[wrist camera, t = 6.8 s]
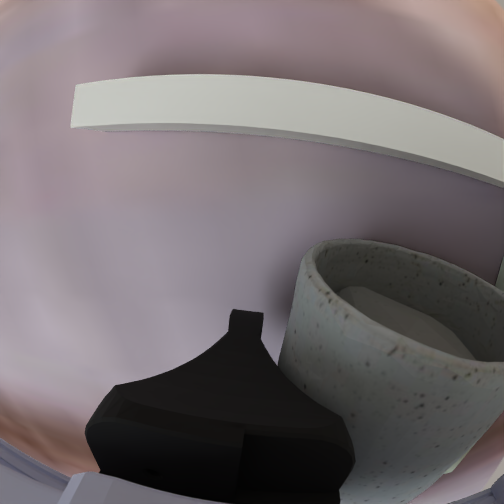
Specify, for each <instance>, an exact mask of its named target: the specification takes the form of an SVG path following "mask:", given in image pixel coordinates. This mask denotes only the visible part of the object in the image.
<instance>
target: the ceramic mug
mask: <svg viewBox="0 0 504 504" xmlns="http://www.w3.org/2000/svg"><path fill="white" fill-rule="evenodd" d="M278 367H279V369H280V370H281V371H282V372H283V373H284V375H285V376H286V377H287V378H288V379H289V380H290V381H291V382H292V383H293V384H294V385H296V386H297V387H298V388H299V389H300V390H301V391H302V392H304V393H305V394H306V395H308V396H309V397H310V398H312V399H313V400H314V401H316V402H317V403H319V404H320V405H322V406H324V407H326V408H327V409H329V410H331V411H332V412H334V413H336V414H338V415H339V416H341V417H342V418H343V420H344V423H345V425H346V427H347V430H348V432H349V435H350V437H351V440H352V443H353V447H354V452H355V460H356V462H355V465H354V467H353V470H352V471H351V473H350V474H349V476H348V477H347V479H346V480H345V482H344V483H343V485H342V486H341V488H340V489H339V492H340V500H341V501H340V504H406V503H408V502H409V501H411V500H413V499H414V498H415V497H417V496H418V495H419V494H421V493H422V492H423V491H425V490H426V489H427V488H429V487H430V486H431V485H432V484H434V483H435V482H436V481H437V480H438V479H439V478H440V477H441V476H442V475H443V474H444V473H445V472H446V471H447V470H448V469H449V468H450V467H451V466H452V465H453V464H455V463H456V462H457V461H458V460H459V459H460V458H461V457H462V456H463V455H464V454H465V453H466V452H467V451H468V450H469V449H470V448H471V447H472V446H473V445H474V444H475V443H476V442H477V441H478V440H479V439H480V438H481V436H482V435H483V434H484V433H485V432H486V431H487V430H488V429H489V427H490V426H491V425H492V424H493V423H494V422H495V420H496V419H497V418H498V417H499V416H500V414H501V413H502V412H503V411H504V292H502V291H501V290H499V289H498V288H496V287H495V286H493V285H491V284H490V283H488V282H486V281H485V280H483V279H481V278H480V277H478V276H476V275H474V274H473V273H470V272H468V271H466V270H464V269H462V268H460V267H458V266H456V265H454V264H451V263H448V262H446V261H444V260H442V259H439V258H436V257H434V256H431V255H429V254H426V253H421V252H417V251H413V250H410V249H407V248H404V247H401V246H398V245H393V244H388V243H382V242H376V241H372V240H362V239H336V240H328V241H323V242H321V243H318V244H316V245H315V246H313V247H311V248H310V249H309V250H308V252H307V253H306V254H305V255H304V257H303V258H302V260H301V264H300V268H299V272H298V276H297V281H296V287H295V292H294V298H293V303H292V308H291V312H290V316H289V320H288V324H287V328H286V332H285V337H284V340H283V344H282V348H281V352H280V356H279V361H278Z"/></svg>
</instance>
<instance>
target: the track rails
mask: <svg viewBox="0 0 504 504" xmlns="http://www.w3.org/2000/svg"><path fill="white" fill-rule="evenodd" d="M71 128H79V129H88V130H97V131H105V132H112V131H201V132H220V133H235V134H248V135H259V136H269V137H278V138H287V139H295V140H303V141H310V142H317V143H323V144H330V145H336V146H342V147H348V148H353V149H359V150H364V151H369V152H374V153H379V154H383V155H388V156H393V157H397V158H401V159H406V160H410V161H414V162H418V163H422V164H426V165H430V166H433V167H437V168H441V169H444V170H448V171H451V172H455V173H458V174H461V175H465V176H468V177H471V178H474V179H477V180H481V181H484V182H487V183H489V184H492V185H495V186H498V187H501V188H504V139H503V138H500V137H498V136H496V135H494V134H492V133H489V132H487V131H485V130H482V129H480V128H477V127H475V126H473V125H470V124H468V123H465V122H462V121H460V120H457V119H454V118H452V117H449V116H446V115H443V114H440V113H437V112H434V111H431V110H428V109H425V108H422V107H419V106H415V105H412V104H409V103H405V102H402V101H398V100H394V99H390V98H387V97H383V96H379V95H374V94H370V93H366V92H361V91H357V90H352V89H347V88H341V87H336V86H330V85H325V84H318V83H312V82H305V81H297V80H289V79H280V78H270V77H258V76H243V75H219V74H181V75H157V76H143V77H131V78H121V79H112V80H105V81H97V82H91V83H84V84H79V85H76V88H75V95H74V102H73V110H72V118H71Z"/></svg>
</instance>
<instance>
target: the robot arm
mask: <svg viewBox="0 0 504 504" xmlns="http://www.w3.org/2000/svg"><path fill="white" fill-rule="evenodd" d="M262 326H263V313H261V312H252V311H244V310H236V309H233V310H232V312H231V314H230V319H229V329H228V332H227V333H226V334H225V335H224V336H223V337H222V338H221V339H220V340H219V341H217V342H216V343H215V344H214V345H213V346H212V347H210V348H209V349H208V350H206V351H205V352H204V353H202V354H201V355H199V356H198V357H196V358H194V359H193V360H191V361H189V362H187V363H185V364H183V365H181V366H179V367H177V368H175V369H173V370H170V371H168V372H165V373H162V374H159V375H156V376H153V377H150V378H147V379H143V380H139V381H134V382H129V383H125V384H120V385H115V386H114V387H113V388H112V390H111V391H110V392H109V393H108V394H107V395H106V396H105V398H104V399H103V400H102V402H101V403H100V404H99V406H98V408H97V409H96V411H95V412H94V414H93V415H92V417H91V418H90V420H89V422H88V423H87V425H86V428H85V436H86V440H87V443H88V445H89V447H90V449H91V451H92V453H93V456H94V458H95V460H96V462H97V464H98V466H99V468H100V472H99V473H96V472H84V473H80V474H75V475H73V476H72V478H70V477H68V476H66V475H64V474H62V473H60V472H58V471H56V470H54V469H52V468H50V467H48V466H46V465H44V464H42V463H40V462H39V461H37V460H35V459H33V458H31V457H30V456H28V455H26V454H25V453H23V452H21V451H20V450H18V449H16V448H15V447H13V446H12V445H10V444H9V443H7V442H5V441H4V440H2V439H1V438H0V504H340V501H341V500H340V492H339V489H340V488H341V486H342V485H343V483H344V482H345V480H346V479H347V477H348V476H349V474H350V473H351V471H352V470H353V467H354V465H355V462H356V460H355V452H354V447H353V443H352V440H351V437H350V435H349V432H348V430H347V427H346V425H345V423H344V420H343V418H342V417H341V416H339V415H338V414H336V413H334V412H332V411H331V410H329V409H327V408H326V407H324V406H322V405H320V404H319V403H317V402H316V401H314V400H313V399H312V398H310V397H309V396H308V395H306V394H305V393H304V392H302V391H301V390H300V389H299V388H298V387H297V386H296V385H294V384H293V383H292V382H291V381H290V380H289V379H288V378H287V377H286V376H285V375H284V373H283V372H282V371H281V370H280V369H279V367H278V366H277V365H276V364H275V362H274V361H273V359H272V358H271V356H270V355H269V353H268V351H267V350H266V348H265V346H264V344H263V343H262V340H261V334H262ZM448 504H504V474H503V475H502V476H501V477H500V478H499V479H498V480H497V481H496V482H495V483H494V484H493V485H492V487H491V488H489V489H486V490H484V491H482V492H479V493H476V494H474V495H471V496H469V497H466V498H463V499H460V500H457V501H454V502H451V503H448Z"/></svg>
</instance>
